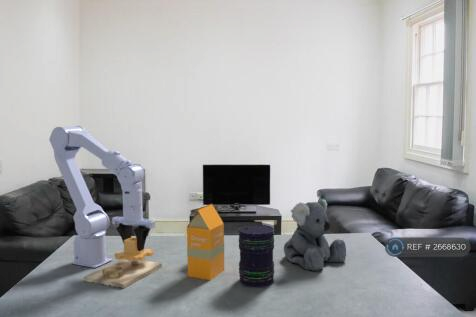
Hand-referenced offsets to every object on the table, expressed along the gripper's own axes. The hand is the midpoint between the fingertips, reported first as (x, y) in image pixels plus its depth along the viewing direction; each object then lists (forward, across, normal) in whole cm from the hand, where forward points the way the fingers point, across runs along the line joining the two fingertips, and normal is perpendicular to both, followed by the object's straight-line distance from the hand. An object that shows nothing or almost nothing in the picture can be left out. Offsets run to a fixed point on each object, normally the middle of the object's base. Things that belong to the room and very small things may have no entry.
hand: (134, 249), depth 137 cm
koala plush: (+6, +47, +28) cm, 55 cm away
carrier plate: (+6, 0, -5) cm, 8 cm away
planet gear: (+2, 0, 0) cm, 2 cm away
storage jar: (+6, +38, +5) cm, 39 cm away
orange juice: (+6, +22, +5) cm, 23 cm away
